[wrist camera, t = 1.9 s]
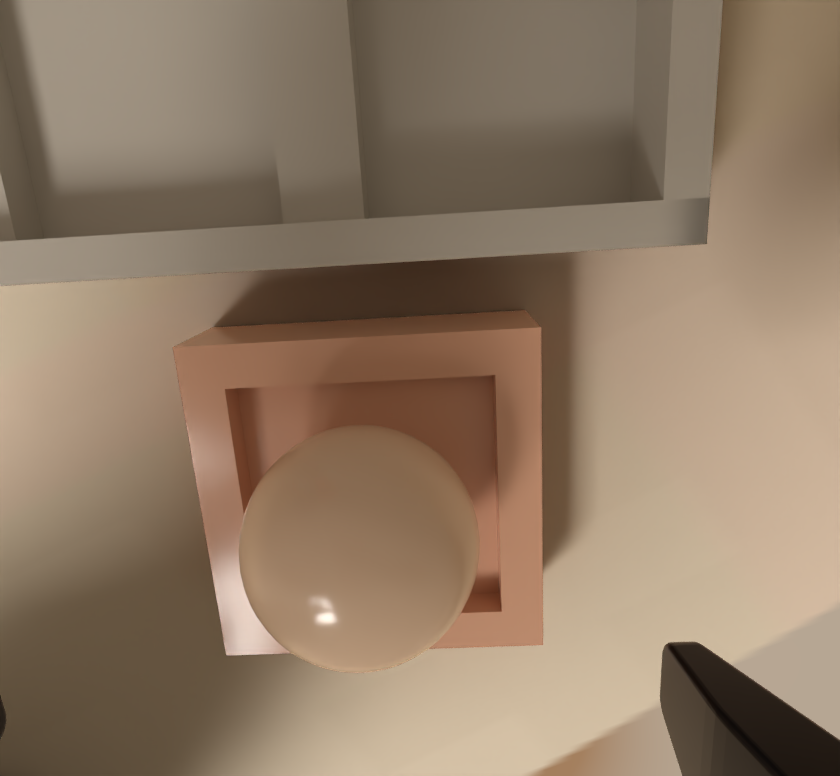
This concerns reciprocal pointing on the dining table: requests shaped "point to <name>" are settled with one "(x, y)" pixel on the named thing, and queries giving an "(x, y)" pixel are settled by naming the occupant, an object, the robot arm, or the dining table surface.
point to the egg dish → (388, 407)
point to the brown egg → (359, 548)
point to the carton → (347, 132)
